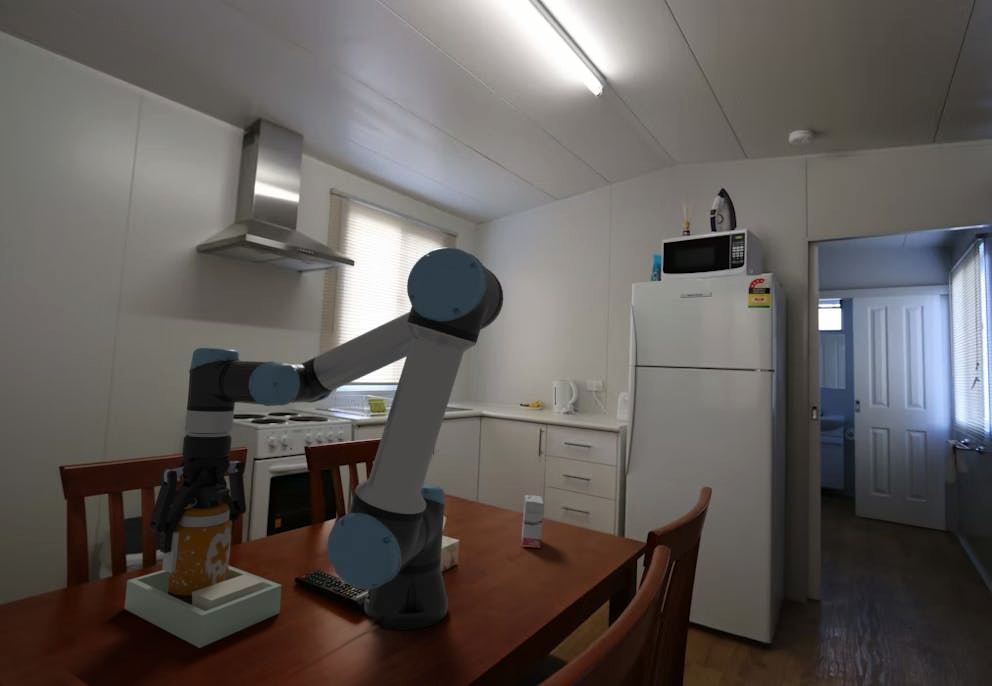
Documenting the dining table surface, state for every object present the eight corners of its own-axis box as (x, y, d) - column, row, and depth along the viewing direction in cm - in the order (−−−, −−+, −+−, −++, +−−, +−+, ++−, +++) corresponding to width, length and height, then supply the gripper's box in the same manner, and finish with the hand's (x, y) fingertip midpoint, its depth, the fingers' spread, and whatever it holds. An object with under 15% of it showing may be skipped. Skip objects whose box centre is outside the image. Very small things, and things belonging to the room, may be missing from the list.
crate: (279, 617, 88) (281, 585, 89) (199, 653, 76) (202, 615, 77) (204, 586, 99) (207, 557, 99) (123, 613, 87) (127, 580, 87)
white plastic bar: (260, 615, 87) (262, 581, 88) (207, 637, 79) (211, 600, 80) (241, 607, 90) (244, 574, 90) (188, 627, 82) (191, 592, 82)
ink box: (541, 549, 132) (544, 502, 133) (522, 548, 132) (524, 501, 133) (539, 538, 140) (541, 495, 141) (521, 537, 140) (523, 494, 141)
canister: (199, 613, 84) (210, 490, 85) (143, 604, 86) (154, 484, 87) (237, 591, 92) (246, 480, 94) (185, 584, 95) (195, 475, 96)
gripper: (249, 428, 102) (239, 542, 101) (131, 436, 84) (117, 576, 82) (273, 432, 99) (264, 550, 97) (156, 440, 80) (141, 588, 79)
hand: (196, 562), depth 90 cm, fingers closed on canister, 9 cm apart
